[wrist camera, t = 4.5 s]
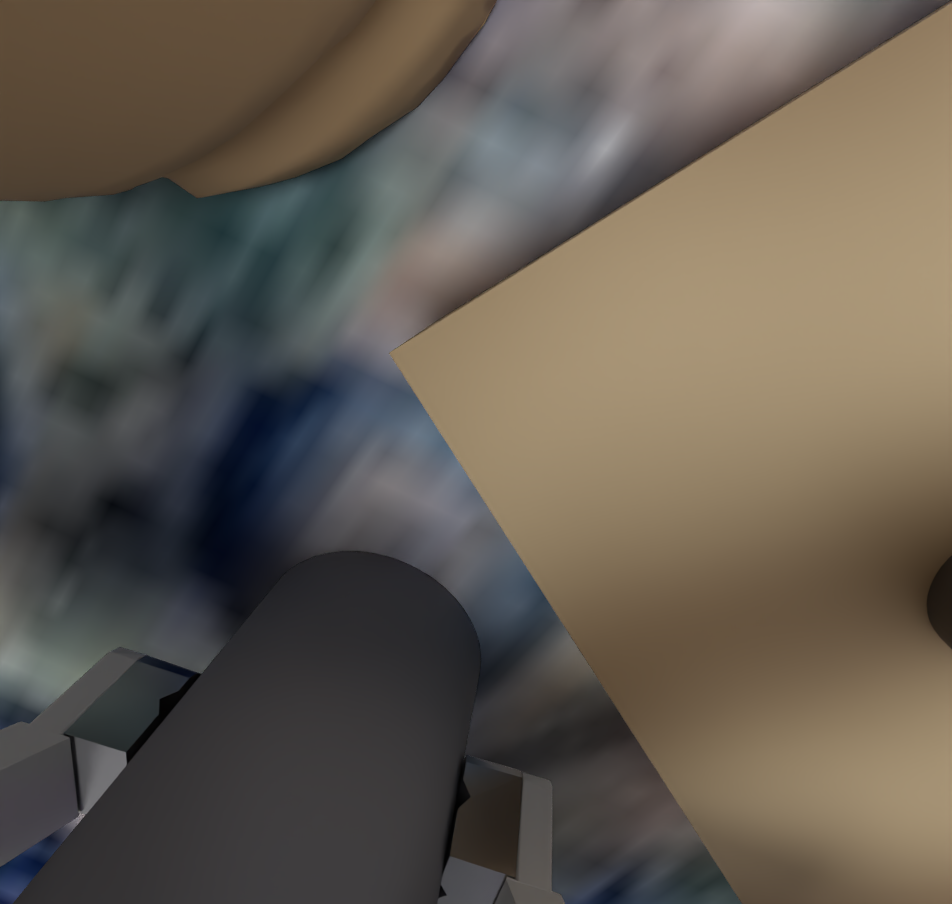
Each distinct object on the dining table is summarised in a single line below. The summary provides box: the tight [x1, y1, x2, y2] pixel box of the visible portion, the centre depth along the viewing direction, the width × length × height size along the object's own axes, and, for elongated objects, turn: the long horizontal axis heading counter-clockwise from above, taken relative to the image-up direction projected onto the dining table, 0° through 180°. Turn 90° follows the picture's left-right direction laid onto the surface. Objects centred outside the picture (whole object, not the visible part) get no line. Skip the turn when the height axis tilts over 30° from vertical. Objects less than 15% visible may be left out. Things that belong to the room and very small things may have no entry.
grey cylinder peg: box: [13, 552, 481, 904], centre depth 8 cm, size 5×5×7 cm
